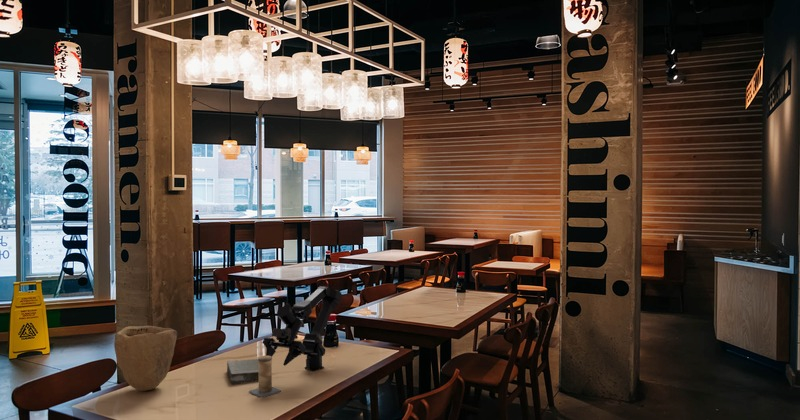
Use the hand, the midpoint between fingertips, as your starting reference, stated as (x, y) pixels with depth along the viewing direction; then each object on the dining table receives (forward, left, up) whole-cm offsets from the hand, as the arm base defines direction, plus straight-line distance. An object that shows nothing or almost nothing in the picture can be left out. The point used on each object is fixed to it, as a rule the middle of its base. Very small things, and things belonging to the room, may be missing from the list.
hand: (274, 363), depth 216 cm
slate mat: (+6, +2, -9) cm, 11 cm away
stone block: (0, -23, -10) cm, 25 cm away
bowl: (+36, -36, -10) cm, 52 cm away
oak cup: (+6, +2, -9) cm, 11 cm away
